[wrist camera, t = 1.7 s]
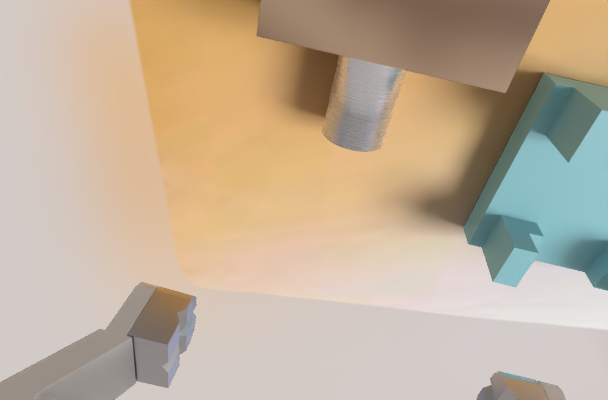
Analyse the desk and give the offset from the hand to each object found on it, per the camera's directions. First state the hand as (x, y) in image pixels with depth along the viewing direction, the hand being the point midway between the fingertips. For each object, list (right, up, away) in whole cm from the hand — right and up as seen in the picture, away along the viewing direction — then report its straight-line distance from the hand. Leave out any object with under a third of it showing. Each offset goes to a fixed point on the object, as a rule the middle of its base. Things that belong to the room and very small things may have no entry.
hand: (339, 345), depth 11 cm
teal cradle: (+18, +5, +17) cm, 25 cm away
